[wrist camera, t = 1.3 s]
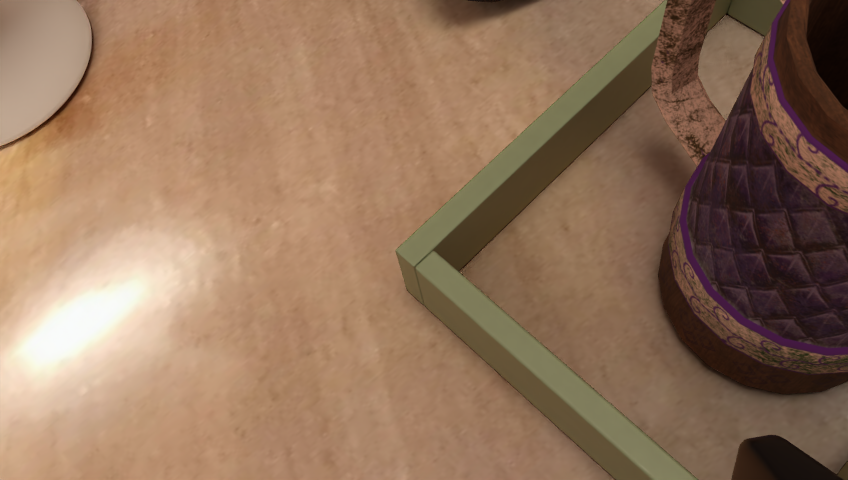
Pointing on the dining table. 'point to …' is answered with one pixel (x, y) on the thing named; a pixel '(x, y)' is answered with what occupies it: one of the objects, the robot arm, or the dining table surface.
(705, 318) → the mug
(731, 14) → the frame
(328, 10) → the dining table surface
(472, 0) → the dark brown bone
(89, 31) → the wineglass
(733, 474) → the robot arm
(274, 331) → the dining table surface
